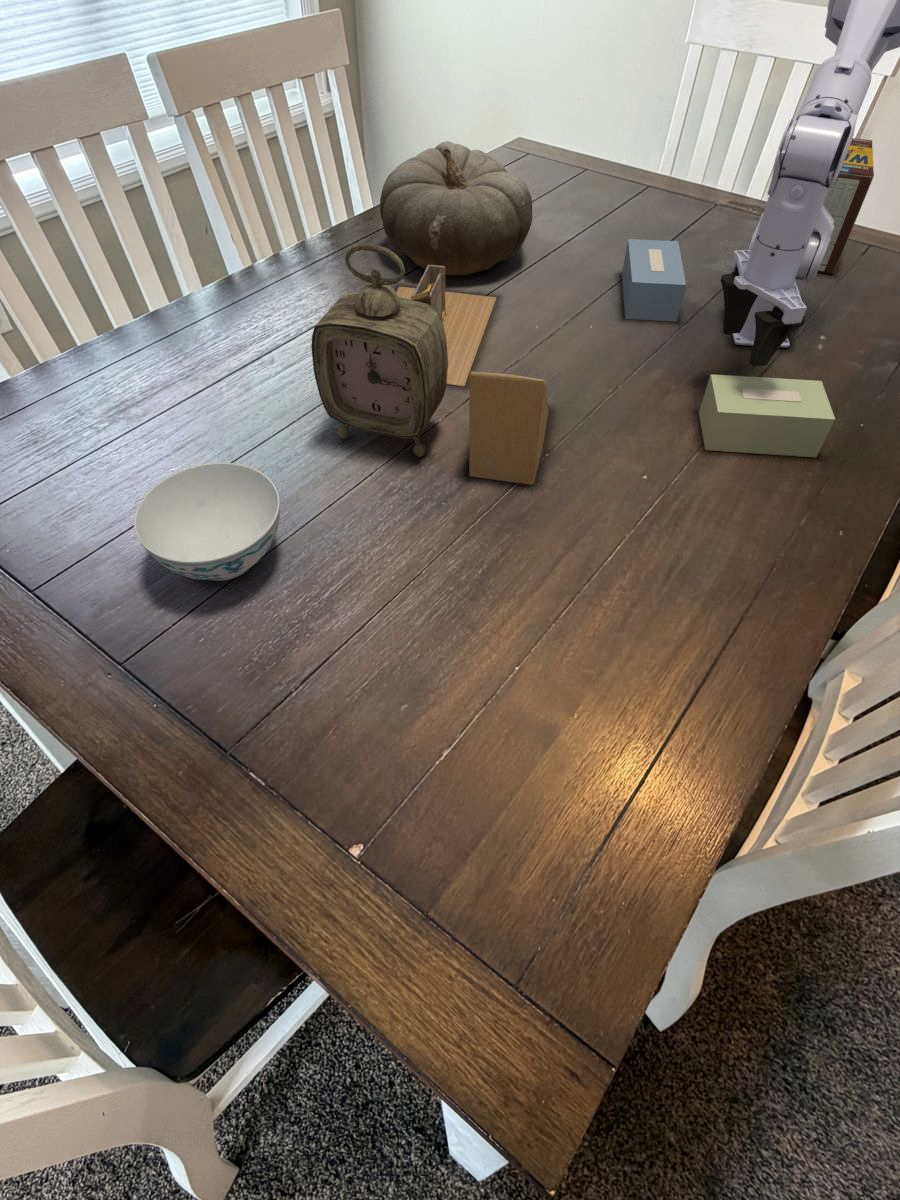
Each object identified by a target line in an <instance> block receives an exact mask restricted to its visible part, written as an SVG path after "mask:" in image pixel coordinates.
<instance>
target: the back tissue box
mask: <svg viewBox="0 0 900 1200" xmlns="http://www.w3.org/2000/svg"><path fill="white" fill-rule="evenodd" d="M621 283H622V297H623V298H622V299H623V309H624V310H623V311H624V319H625V320H639V321H656V322H657V321H658V322H673V323H674V322H675V323H677V321H678V319H679V316H680V314H679V313H680V311H681V308H682V303H683V299H684V295H685V292H686V289H687V282H686V276H685V271H684V265H683V261H682V255H681V249H680V245H679V241H678V240H677V241H676V240H661V239H660V240H659V239H658V240H657V239H656V240H655V239H639V238H638V239H635V238H628V239H627V244H626V249H625V255H624V260H623V266H622V270H621Z"/></svg>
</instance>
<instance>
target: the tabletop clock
mask: <svg viewBox="0 0 900 1200" xmlns="http://www.w3.org/2000/svg"><path fill="white" fill-rule="evenodd" d="M361 251H368V252H375V253H379V254H382V255H385V256H387V257H389V258H391V259H392V260H393V261H394V262H395V263H396V264H397V265H398V267H399V269H400V274H399V275H398V276H396V277H390V278H383V277H381V272H380V271H379V270H378V269H373V270H372V271H371V272H370V275H368V274H364V273H362V272H361V271H358V270H357V269H356V268H355V267H353V266H352V264H351V262H350V258H351V256H352V255H353V254H355V253H356V252H361ZM344 262H345V265H346V267H347V269H348V270H349V271H350V273H352V275H353V276H354V277H356V278H357V279H360V280H361V281H363V282H366V283H367V284H365V285H364V286H363V287H362V288H361V289H360V290H359V291H355V292H349V293H344V294H342V295H340V298H338V299H337V300H336V302H335V303H334V304H333V305H332V306H331V307H330V308H329V309H328V310H327V312H326V313H325V314H323V316H322V317H321V318H320V320H318V322H317V323H316V324H315V325H314V327H313V331H312V334H311V357H312V367H313V369H312V370H313V374H314V378H315V383H316V387H317V392H318V394H319V395H318V396H319V398H320V402H321V404H322V406H323V408H324V410H325V411H326V414H327V416H328V417H330V418H331V419H333V420H334V421H336V422H338V423H340V424H343V425H341V426H340V427H339V428H338V429H337V434H338V437H340V439H347V438H350V435H351V430H350V427H352V428H355V429H357V430H360V431H361V430H362V431H364V432H367V433H372V434H375V435H381V436H387V437H393V438H399V439H413V441H414V443H415V445H414V447H413V453H414V455H415V456H417V457H419V458H420V457H423V456H425V455H426V453H427V447H426V446H425V444H423V443H421V441H420V440H421V439H420V437H421V435H422V433H423V432H424V430H425V429H426V427H427V426H428V424H429V422H430V421H431V419H432V417H433V416H434V414H435V412H436V411H437V409H438V407H440V405H441V402H443V401H442V400H443V399H444V396H445V393H446V389H447V386H448V384H447V372H448V354H447V342H446V335H445V330H444V326H443V322H442V319H441V317H440V314H439V312H438V310H437V309H435V308H433V307H432V306H430V305H428V304H425V303H422V302H418V301H414V300H410V299H406V298H402V297H398V295H397V293H396V292H397V290H395V289H394V287H392V285H396V284H398V283H400V282H401V281H402V280H403V279H404V277H405V274H406V268H405V266H404V265H405V264H404V263H403V261H402V259H401V257H399V256H398V255H397V254H396V253H395V252H393V251H392V250H391V249H390V248H387V247H385V246H382V245H379V244H373V243H358V244H355V245H353V246H351V247H350V248H349V249H348V250H347V251H346V254H345V256H344Z"/></svg>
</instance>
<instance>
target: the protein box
mask: <svg viewBox="0 0 900 1200" xmlns="http://www.w3.org/2000/svg"><path fill="white" fill-rule="evenodd" d="M874 170H875V169H874V149H873V140H872V139H863V138H855V137H853V138H852V141H851V144H850V147H849V149H848V152H847V154H846V157H845V160H844V162H843V165H842V167H841V170H840V172H839V175H838V177H837V178H836V180H835V181H834V183H833V185H832V186H831V182H832V179H833V177H834V171H833V174H832V176H831V179H830V187H829V190H828V192H827V195H826V198H825V200H824V203H823V205H824V207H825V208H826V209H827V211H828V212H829V214H830V215H831V216H832V218H833V220H834V223H833V225H834V229H833V231H832V234H831V236H830V238H831V239H830V242H829V244H828V247H827V249H826V252H825V254H824V257H823V259H822V262H821V264H820V267H819V269H818V272H817V273H821V274H829V275H834V274H835V272H836V271H837V267H838V265H839V262H840V261H841V257H842V256H843V253H844V250H845V248H846V245H847V243H848V241H849V239H850V235H851V234H852V231H853V228H854V226H855V223H856V221H857V219H858V216H859V214H860V211H861V210H862V206H863V204H864V202H865V200H866V196H867V194H868V192H869V189H870V188H871V185H872V182H873V180H874V177H875V171H874ZM813 231H815V232H818V230H816V229H814V230H813ZM820 241H821V240H820Z"/></svg>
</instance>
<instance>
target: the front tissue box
mask: <svg viewBox="0 0 900 1200" xmlns="http://www.w3.org/2000/svg"><path fill="white" fill-rule="evenodd" d="M698 417H699V422H700V428H701V429H700V430H701V434H702V440H703V445H704V450H705V451H711V452H712V451H715V452H728V453H742V454H743V453H744V454H757V455H758V454H761V455H774V456H788V457H802V458H803V457H804V458H817V457H818V455H819V454H820V451H821V450H822V447H823V445H824V443H825V441H826V439H827V438H828V436H829V433H830V431H831V429H832V427H833V425H834V423H835V421H836V417H835V415H834V412H833V408H832V406H831V403H830V400H829V397H828V395H827V392H826V389H825V386H824V384H823V382H822V380H815V379H814V380H812V379H798V378H797V379H795V378H782V377H781V378H780V377H763V376H762V377H761V376H760V377H759V376H744V375H731V374H730V375H727V374H710V375H709V379H708V381H707V385H706V388H705V392H704V395H703V398H702V401H701V404H700V406H699V410H698Z"/></svg>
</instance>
